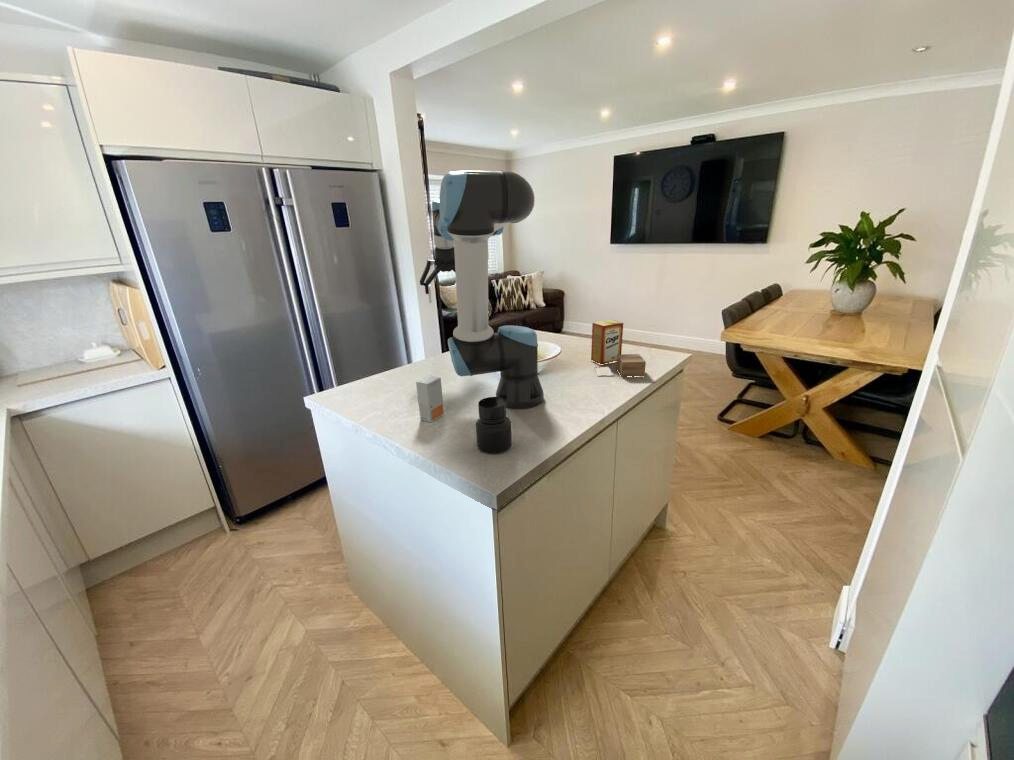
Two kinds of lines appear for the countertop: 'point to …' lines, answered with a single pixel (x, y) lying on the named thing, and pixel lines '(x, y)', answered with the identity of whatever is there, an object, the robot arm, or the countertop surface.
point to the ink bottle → (493, 426)
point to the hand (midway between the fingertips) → (447, 300)
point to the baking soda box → (606, 341)
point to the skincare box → (430, 398)
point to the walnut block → (630, 365)
